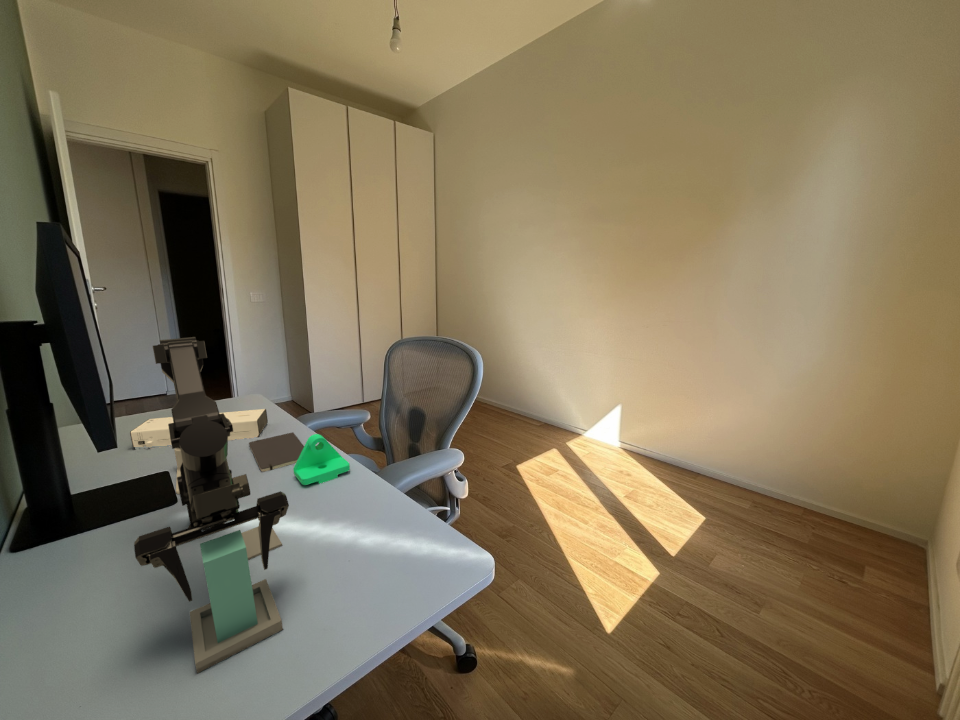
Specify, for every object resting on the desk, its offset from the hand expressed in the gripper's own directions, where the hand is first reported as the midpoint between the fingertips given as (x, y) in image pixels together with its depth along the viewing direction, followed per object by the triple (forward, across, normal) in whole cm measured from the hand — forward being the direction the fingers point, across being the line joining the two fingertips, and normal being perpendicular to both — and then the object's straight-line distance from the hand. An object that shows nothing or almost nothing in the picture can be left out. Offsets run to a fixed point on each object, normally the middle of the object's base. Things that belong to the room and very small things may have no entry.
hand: (230, 584), depth 56 cm
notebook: (-37, +19, +49) cm, 64 cm away
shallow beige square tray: (+5, 0, +7) cm, 8 cm away
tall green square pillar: (+4, 0, +6) cm, 8 cm away
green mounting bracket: (-21, +25, +34) cm, 47 cm away
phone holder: (-36, 0, +48) cm, 60 cm away
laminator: (-56, +4, +68) cm, 88 cm away
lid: (-8, +5, +21) cm, 23 cm away
